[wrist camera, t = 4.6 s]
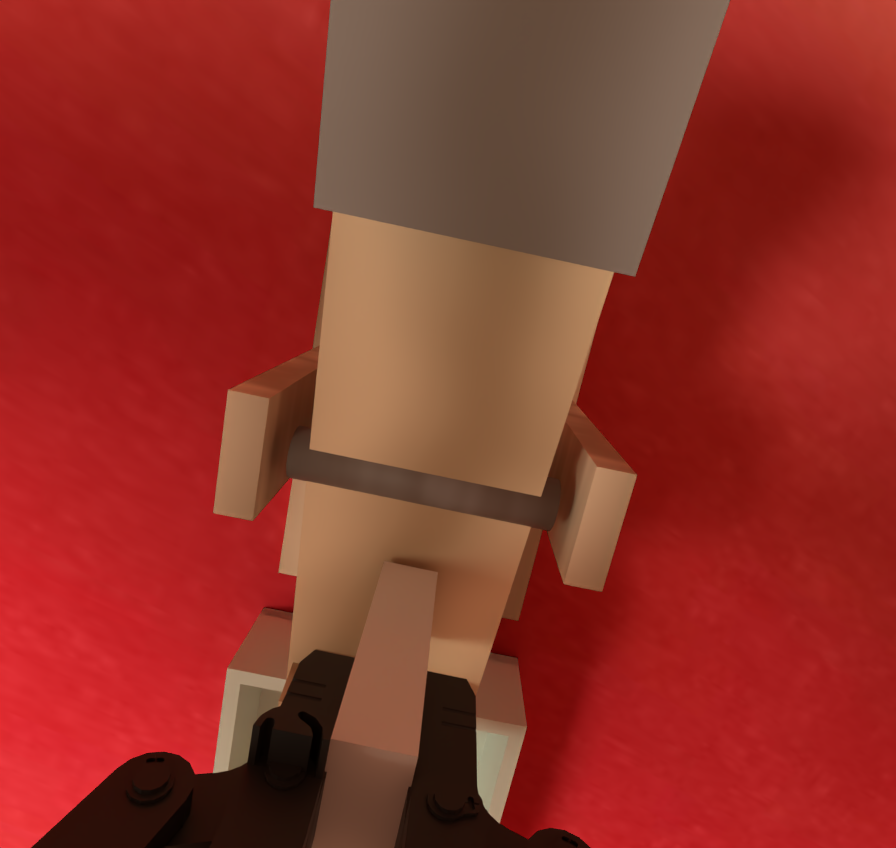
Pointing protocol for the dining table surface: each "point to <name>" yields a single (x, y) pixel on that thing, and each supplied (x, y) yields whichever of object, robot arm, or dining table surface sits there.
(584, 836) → the dining table surface
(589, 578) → the catapult base
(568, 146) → the lever
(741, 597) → the dining table surface
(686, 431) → the dining table surface
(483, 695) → the shallow square tray
